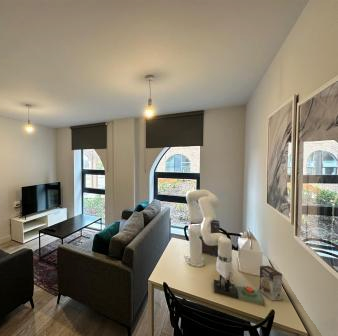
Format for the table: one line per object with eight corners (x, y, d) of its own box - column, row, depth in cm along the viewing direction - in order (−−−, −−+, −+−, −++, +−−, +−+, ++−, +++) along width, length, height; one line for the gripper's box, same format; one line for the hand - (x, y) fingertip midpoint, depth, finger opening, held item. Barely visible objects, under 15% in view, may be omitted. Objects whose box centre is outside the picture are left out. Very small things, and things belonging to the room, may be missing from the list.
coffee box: (258, 290, 120) (259, 265, 119) (268, 289, 121) (268, 265, 120) (272, 300, 111) (272, 274, 110) (282, 299, 112) (282, 273, 111)
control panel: (214, 293, 118) (214, 288, 118) (213, 283, 127) (213, 278, 127) (236, 298, 113) (236, 293, 113) (234, 288, 122) (234, 283, 122)
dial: (229, 287, 118) (229, 279, 118) (223, 288, 118) (223, 280, 118) (225, 283, 122) (225, 275, 122) (219, 284, 122) (219, 276, 122)
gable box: (238, 257, 159) (238, 225, 157) (257, 262, 152) (258, 228, 151) (239, 271, 140) (240, 234, 138) (262, 277, 133) (262, 238, 132)
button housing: (238, 299, 113) (238, 292, 113) (236, 288, 122) (236, 282, 122) (263, 305, 108) (263, 298, 107) (258, 294, 117) (259, 287, 116)
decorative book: (219, 253, 167) (219, 220, 165) (219, 257, 160) (219, 222, 159) (190, 248, 178) (190, 217, 176) (190, 251, 172) (190, 219, 170)
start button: (245, 292, 114) (245, 289, 113) (244, 288, 117) (244, 285, 117) (253, 294, 112) (253, 291, 112) (252, 289, 115) (252, 287, 115)
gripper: (211, 251, 127) (211, 277, 128) (228, 265, 111) (227, 295, 111) (221, 250, 128) (221, 276, 129) (240, 264, 111) (239, 294, 112)
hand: (224, 284), depth 120 cm, fingers open, 4 cm apart
